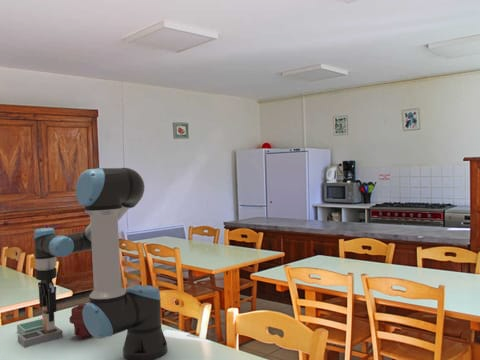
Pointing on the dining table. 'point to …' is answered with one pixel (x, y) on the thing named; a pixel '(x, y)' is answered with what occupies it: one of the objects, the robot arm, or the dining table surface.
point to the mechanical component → (79, 322)
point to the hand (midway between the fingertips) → (48, 327)
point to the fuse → (45, 321)
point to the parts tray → (30, 326)
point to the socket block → (38, 337)
